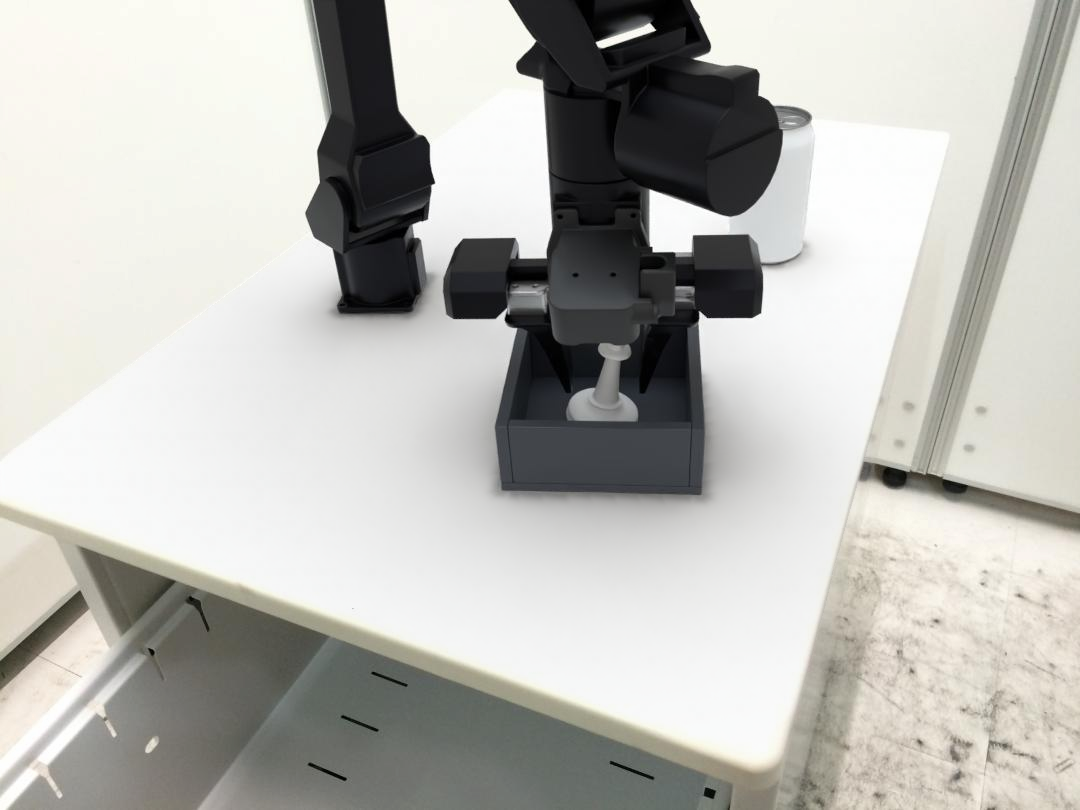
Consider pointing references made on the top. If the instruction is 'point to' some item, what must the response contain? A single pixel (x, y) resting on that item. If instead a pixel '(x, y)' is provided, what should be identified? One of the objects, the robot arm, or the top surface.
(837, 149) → the top surface
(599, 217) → the robot arm
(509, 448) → the dark grey storage bin
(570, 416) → the chess piece
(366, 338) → the top surface
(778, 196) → the can
